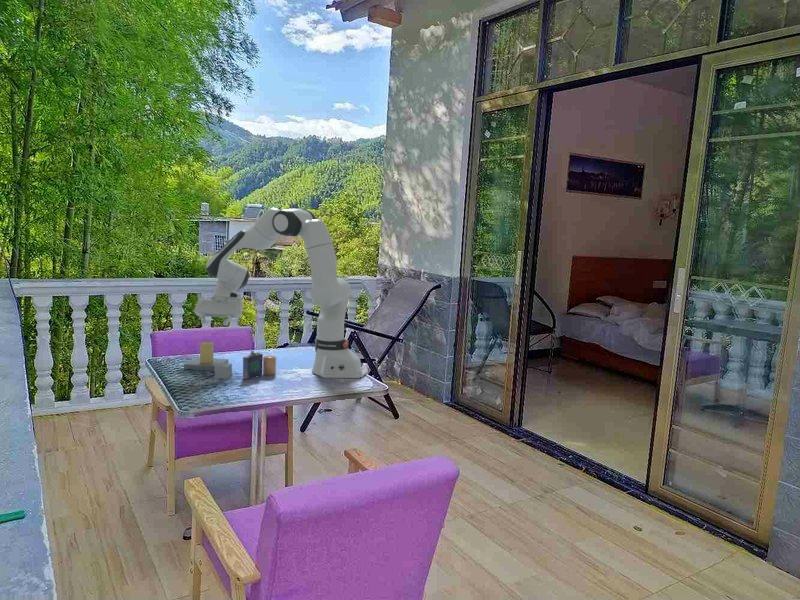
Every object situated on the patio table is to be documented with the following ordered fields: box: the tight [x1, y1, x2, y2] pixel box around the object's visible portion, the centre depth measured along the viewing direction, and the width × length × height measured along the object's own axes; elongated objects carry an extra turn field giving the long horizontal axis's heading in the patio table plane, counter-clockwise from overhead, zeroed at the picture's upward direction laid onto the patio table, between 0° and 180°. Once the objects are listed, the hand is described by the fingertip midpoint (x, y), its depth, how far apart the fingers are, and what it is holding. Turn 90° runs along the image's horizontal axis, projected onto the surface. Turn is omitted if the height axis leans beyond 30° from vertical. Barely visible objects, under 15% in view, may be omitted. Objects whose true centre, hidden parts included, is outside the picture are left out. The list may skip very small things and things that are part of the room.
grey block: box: [214, 362, 233, 380], centre depth 217 cm, size 5×5×5 cm
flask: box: [242, 349, 264, 381], centre depth 218 cm, size 9×3×11 cm, turn 146°
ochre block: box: [199, 341, 214, 363], centre depth 230 cm, size 4×4×8 cm
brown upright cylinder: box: [262, 355, 277, 376], centre depth 224 cm, size 5×5×7 cm
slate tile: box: [183, 356, 229, 372], centre depth 230 cm, size 14×12×2 cm
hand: (214, 323), depth 236 cm, fingers open, 8 cm apart
